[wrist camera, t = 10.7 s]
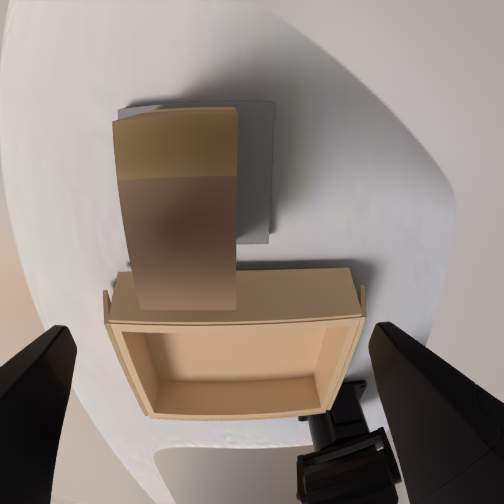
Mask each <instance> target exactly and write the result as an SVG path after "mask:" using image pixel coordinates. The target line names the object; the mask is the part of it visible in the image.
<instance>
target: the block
mask: <svg viewBox="0 0 504 504" xmlns="http://www.w3.org/2000/svg"><path fill="white" fill-rule="evenodd" d="M112 127H113V142H114V154H115V164H116V174H117V182H118V191H119V198H120V205H121V212H122V219H123V225H124V231H125V237H126V243H127V248H128V253H129V259H130V264H131V269H132V273H133V278H134V283H135V287H136V291H137V296H138V300H139V304H140V308H141V310H236V212H237V139H238V113H237V111H236V109H235V107H234V106H214V107H185V108H169V109H156V110H151V111H147V112H144V113H140V114H137V115H133V116H130V117H126V118H123V119H119V120H116V121H113V122H112Z"/></svg>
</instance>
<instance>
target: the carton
mask: <svg viewBox="0 0 504 504" xmlns="http://www.w3.org/2000/svg"><path fill="white" fill-rule="evenodd" d="M103 305H104V324H105V327H106V330H107V332H108V335H109V337H110V340H111V342H112V345H113V347H114V350H115V352H116V355H117V357H118V359H119V362H120V364H121V366H122V369H123V371H124V373H125V375H126V378H127V380H128V382H129V384H130V386H131V388H132V391H133V393H134V395H135V397H136V399H137V401H138V403H139V405H140V407H141V409H142V411H143V413H144V415H145V416H148V415H149V416H150V418H152V419H166V420H187V421H239V420H260V419H274V418H286V417H296V416H305V415H313V414H320V413H326V410H330V409H331V407H332V405H333V403H334V400H335V398H336V396H337V393H338V391H339V389H340V386H341V384H342V381H343V379H344V377H345V374H346V372H347V369H348V367H349V364H350V361H351V359H352V356H353V353H354V351H355V348H356V345H357V343H358V340H359V337H360V334H361V331H362V328H363V325H364V322H365V319H366V302H365V285H360V289H359V292H358V296H357V293H356V289H355V286H354V282H353V279H352V276H351V272H350V269H349V268H321V269H287V270H245V271H236V310H141V308H140V304H139V300H138V296H137V291H136V287H135V283H134V278H133V273H132V272H118V275H117V279H116V284H115V288H114V293H113V297H112V302H111V301H110V298H109V295H108V291H107V290H104V291H103Z"/></svg>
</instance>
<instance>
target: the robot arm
mask: <svg viewBox="0 0 504 504" xmlns="http://www.w3.org/2000/svg"><path fill="white" fill-rule="evenodd" d="M368 347H369V353H370V358H371V362H372V366H373V371H374V375H375V380H376V385H377V389H378V393H379V396H380V400H381V403H382V406H383V409H384V412H385V415H386V419H387V422H388V425H389V428H390V432H391V435H392V438H393V442H394V445H395V448H396V452H397V456H398V459H399V462H400V466H401V470H402V474H403V477H404V481H405V485H406V489H407V493H408V498H409V501H410V504H504V403H503V402H501V401H500V400H498V399H497V398H495V397H494V396H492V395H491V394H490V393H488V392H487V391H485V390H484V389H483V388H481V387H480V386H479V385H477V384H475V383H474V382H473V381H472V380H470V379H469V378H468V377H466V376H465V375H464V374H462V373H461V372H460V371H458V370H457V369H455V368H454V367H452V366H451V365H450V364H448V363H447V362H446V361H444V360H443V359H442V358H440V357H439V356H437V355H436V354H435V353H433V352H432V351H431V350H429V349H428V348H426V347H425V346H424V345H422V344H421V343H419V342H418V341H417V340H415V339H414V338H412V337H411V336H410V335H408V334H407V333H405V332H404V331H403V330H401V329H400V328H398V327H397V326H395V325H394V324H393V323H391V322H388V321H387V322H379V323H377V324H376V325H375V327H374V330H373V333H372V335H371V338H370V341H369V346H368ZM76 355H77V347H76V344H75V341H74V339H73V337H72V335H71V333H70V330H69V328H68V327H67V326H63V325H54V326H53V327H51V328H50V329H49V330H47V331H46V332H45V333H43V334H42V335H41V336H39V337H38V338H37V339H36V340H34V341H33V342H32V343H30V344H29V345H28V346H26V347H25V348H24V349H23V350H21V351H20V352H19V353H18V354H16V355H15V356H14V357H12V358H11V359H10V360H9V361H7V362H6V363H5V364H4V365H3V366H1V367H0V504H50V501H51V492H52V484H53V483H52V482H53V476H54V469H55V463H56V457H57V451H58V445H59V440H60V435H61V430H62V426H63V421H64V417H65V412H66V408H67V404H68V399H69V395H70V389H71V384H72V377H73V371H74V366H75V360H76ZM366 386H367V383H366V381H365V380H363V381H357V382H350V383H344V384H341V386H340V389H339V391H338V393H337V396H336V398H335V400H334V403H333V405H332V407H331V409H330V410H326V413H320V414H313V415H305V416H298V419H299V421H308V422H309V427H310V431H311V436H312V441H313V445H314V450H315V452H312V453H309V454H306V455H303V454H302V455H299V456H297V457H298V458H297V459H298V461H297V485H298V486H297V495H296V497H297V499H298V500H299V501H301V502H302V504H397V503H398V495H397V492H396V488H395V484H398V483H400V482H402V480H401V476H400V472H399V469H398V466H397V463H396V460H395V457H394V454H393V451H392V449H391V446H390V443H389V441H388V438H387V435H386V433H385V430H384V428H383V427H380V428H378V430H375V431H373V432H370V431H369V428H368V425H367V422H366V419H365V416H364V413H363V410H362V407H361V405H360V402H359V400H360V398H361V396H362V394H363V392H364V390H365V388H366ZM380 447H383V448H384V449H381V450H379V451H377V449H378V448H380Z"/></svg>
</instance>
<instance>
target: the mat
mask: <svg viewBox="0 0 504 504" xmlns="http://www.w3.org/2000/svg"><path fill="white" fill-rule="evenodd" d="M214 106H234V107H235V109H236V111H237V113H238V139H237V212H236V244H268V241H269V222H270V202H271V182H272V159H273V136H274V110H275V102H265V101H206V102H185V103H170V104H158V105H148V106H139V107H131V108H123V109H119V110H118V120H119V119H123V118H126V117H130V116H133V115H137V114H140V113H144V112H147V111H151V110H156V109H169V108H185V107H214Z"/></svg>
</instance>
